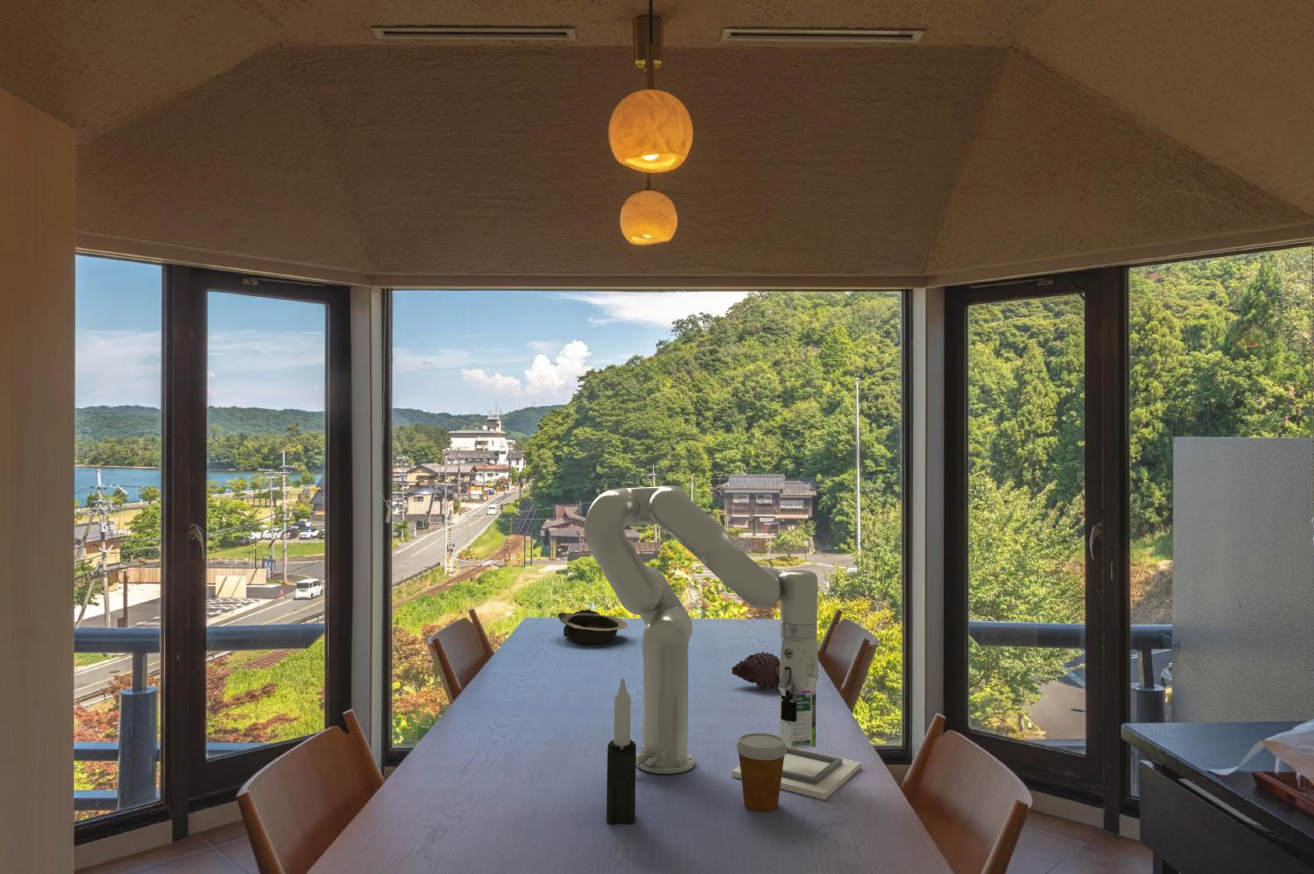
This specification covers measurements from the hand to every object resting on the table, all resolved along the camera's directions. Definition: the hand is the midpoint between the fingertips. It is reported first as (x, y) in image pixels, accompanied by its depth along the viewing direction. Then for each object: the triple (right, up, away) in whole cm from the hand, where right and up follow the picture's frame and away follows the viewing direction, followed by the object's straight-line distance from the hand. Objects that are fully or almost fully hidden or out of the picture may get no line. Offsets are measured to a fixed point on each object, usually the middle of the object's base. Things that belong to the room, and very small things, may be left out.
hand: (797, 714), depth 175 cm
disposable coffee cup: (-10, -12, -17) cm, 22 cm away
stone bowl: (-52, -14, +121) cm, 132 cm away
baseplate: (0, -12, 0) cm, 12 cm away
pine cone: (+1, -13, +63) cm, 64 cm away
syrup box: (0, -6, 0) cm, 6 cm away
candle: (-36, -11, -23) cm, 44 cm away
